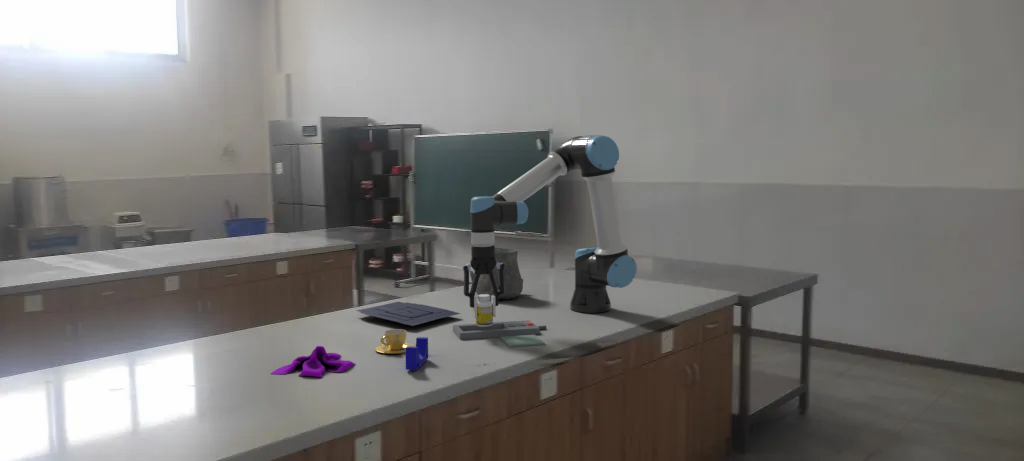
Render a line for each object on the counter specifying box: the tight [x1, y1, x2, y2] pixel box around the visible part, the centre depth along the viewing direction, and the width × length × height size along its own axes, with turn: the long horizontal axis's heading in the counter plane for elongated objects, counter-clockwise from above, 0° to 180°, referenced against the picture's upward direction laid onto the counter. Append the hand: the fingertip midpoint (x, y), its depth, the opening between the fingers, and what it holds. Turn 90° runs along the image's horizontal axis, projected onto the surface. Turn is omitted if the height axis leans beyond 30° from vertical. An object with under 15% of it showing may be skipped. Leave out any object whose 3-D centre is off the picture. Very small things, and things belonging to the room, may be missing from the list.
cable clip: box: [404, 336, 429, 371], centre depth 204 cm, size 12×4×6 cm, turn 171°
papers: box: [356, 301, 462, 327], centre depth 260 cm, size 24×30×4 cm
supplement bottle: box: [475, 294, 494, 327], centre depth 238 cm, size 5×5×10 cm
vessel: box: [469, 247, 524, 300], centre depth 298 cm, size 22×22×20 cm
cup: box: [374, 328, 416, 354], centre depth 220 cm, size 12×12×5 cm
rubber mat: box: [500, 334, 546, 348], centre depth 228 cm, size 11×11×1 cm
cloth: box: [270, 345, 356, 378], centre depth 202 cm, size 22×19×6 cm
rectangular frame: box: [452, 319, 547, 340], centre depth 240 cm, size 30×12×3 cm, turn 105°
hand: (484, 316), depth 239 cm, fingers closed on supplement bottle, 5 cm apart
